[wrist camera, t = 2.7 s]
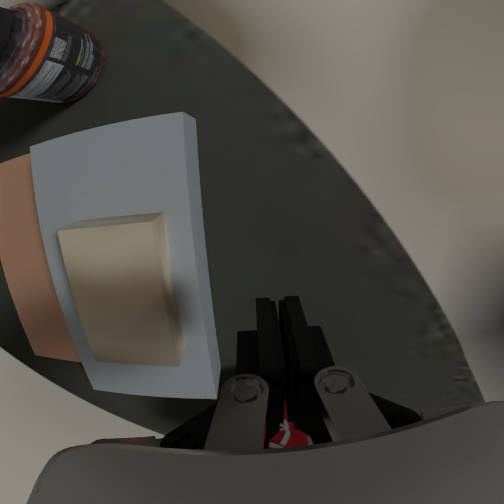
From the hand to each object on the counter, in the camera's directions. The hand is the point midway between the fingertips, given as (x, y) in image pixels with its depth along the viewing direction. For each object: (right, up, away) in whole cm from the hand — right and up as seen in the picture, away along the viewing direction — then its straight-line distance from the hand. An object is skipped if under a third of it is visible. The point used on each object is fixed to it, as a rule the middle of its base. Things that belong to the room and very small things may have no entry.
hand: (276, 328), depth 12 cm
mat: (-20, +2, +10) cm, 23 cm away
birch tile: (-9, 0, +5) cm, 10 cm away
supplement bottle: (-15, +17, +5) cm, 23 cm away
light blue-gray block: (-10, +2, +10) cm, 14 cm away
